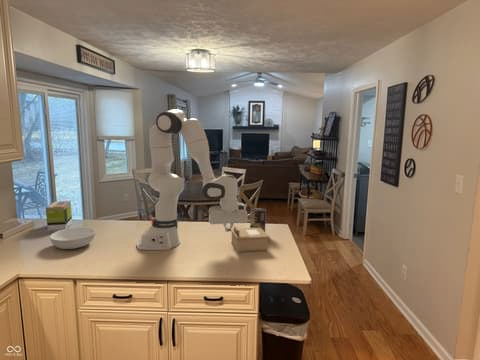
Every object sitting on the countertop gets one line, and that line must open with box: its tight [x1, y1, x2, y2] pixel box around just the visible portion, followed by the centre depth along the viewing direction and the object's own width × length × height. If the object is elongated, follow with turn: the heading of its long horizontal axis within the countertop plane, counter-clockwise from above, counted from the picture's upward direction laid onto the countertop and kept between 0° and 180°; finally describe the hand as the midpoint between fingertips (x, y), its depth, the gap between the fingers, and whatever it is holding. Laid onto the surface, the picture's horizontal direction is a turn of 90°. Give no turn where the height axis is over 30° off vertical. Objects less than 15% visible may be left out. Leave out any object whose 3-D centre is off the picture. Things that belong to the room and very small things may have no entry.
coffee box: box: [249, 207, 267, 233], centre depth 186 cm, size 9×6×16 cm
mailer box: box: [231, 232, 269, 254], centre depth 168 cm, size 16×14×7 cm
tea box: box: [45, 200, 73, 232], centre depth 191 cm, size 15×10×15 cm, turn 14°
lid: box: [230, 226, 270, 240], centre depth 167 cm, size 17×15×3 cm
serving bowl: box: [49, 226, 96, 250], centre depth 163 cm, size 21×21×7 cm
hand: (228, 231), depth 164 cm, fingers closed
